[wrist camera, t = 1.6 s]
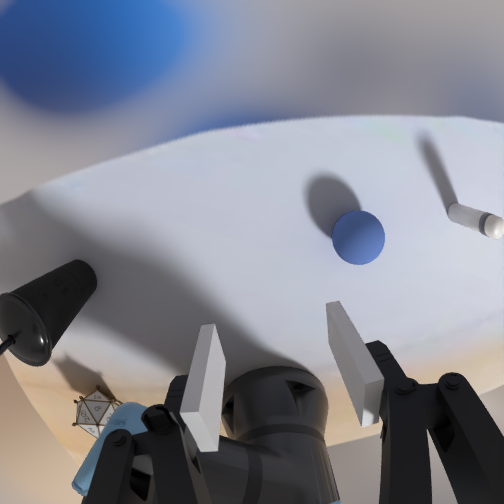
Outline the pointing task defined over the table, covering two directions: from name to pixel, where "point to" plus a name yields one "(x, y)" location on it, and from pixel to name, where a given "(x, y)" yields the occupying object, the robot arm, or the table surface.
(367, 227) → the ball
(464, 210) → the pin
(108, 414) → the game die
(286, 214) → the table surface
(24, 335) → the drinking cup
